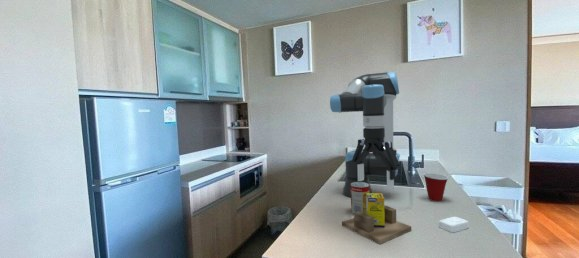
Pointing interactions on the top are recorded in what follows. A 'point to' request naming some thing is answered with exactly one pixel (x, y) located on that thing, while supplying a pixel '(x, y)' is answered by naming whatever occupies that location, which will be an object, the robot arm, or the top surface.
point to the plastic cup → (435, 185)
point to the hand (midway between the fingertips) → (374, 184)
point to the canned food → (359, 196)
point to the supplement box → (376, 208)
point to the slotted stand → (378, 234)
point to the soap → (453, 224)
